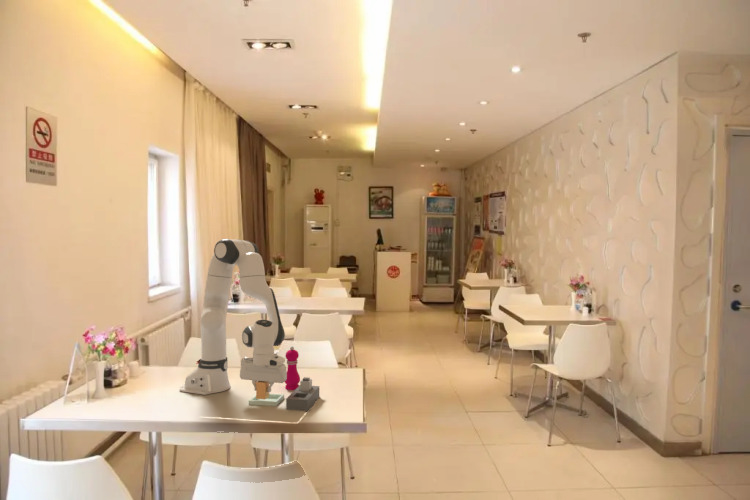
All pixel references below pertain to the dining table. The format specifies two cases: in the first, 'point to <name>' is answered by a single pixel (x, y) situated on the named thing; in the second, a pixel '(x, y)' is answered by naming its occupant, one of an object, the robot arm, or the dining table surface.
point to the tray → (267, 400)
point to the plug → (262, 390)
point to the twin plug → (306, 384)
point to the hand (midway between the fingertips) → (262, 391)
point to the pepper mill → (292, 369)
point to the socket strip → (302, 399)
